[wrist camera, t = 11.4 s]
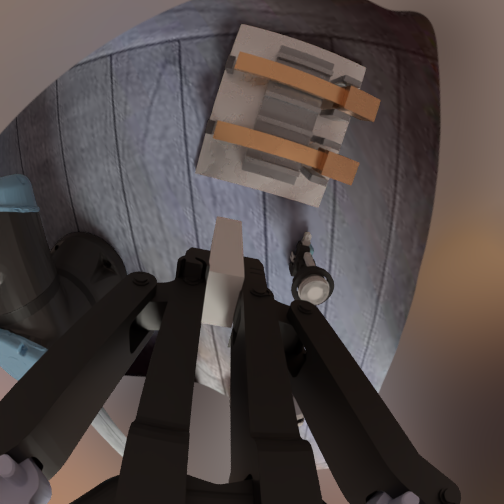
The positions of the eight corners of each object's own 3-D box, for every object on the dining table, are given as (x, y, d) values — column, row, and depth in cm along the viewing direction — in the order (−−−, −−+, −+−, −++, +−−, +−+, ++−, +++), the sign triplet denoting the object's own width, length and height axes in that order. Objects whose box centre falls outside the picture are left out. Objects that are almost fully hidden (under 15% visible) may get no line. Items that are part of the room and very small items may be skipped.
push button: (289, 227, 41) (303, 260, 32) (324, 234, 41) (345, 267, 32) (278, 268, 43) (287, 308, 34) (312, 273, 44) (328, 312, 35)
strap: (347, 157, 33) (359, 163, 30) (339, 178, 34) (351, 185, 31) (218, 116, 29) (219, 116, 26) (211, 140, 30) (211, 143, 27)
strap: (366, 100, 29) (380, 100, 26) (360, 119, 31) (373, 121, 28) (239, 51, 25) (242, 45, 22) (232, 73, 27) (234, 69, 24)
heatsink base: (196, 171, 37) (187, 182, 31) (241, 26, 28) (241, 8, 22) (316, 205, 39) (329, 222, 33) (363, 68, 30) (384, 61, 25)
